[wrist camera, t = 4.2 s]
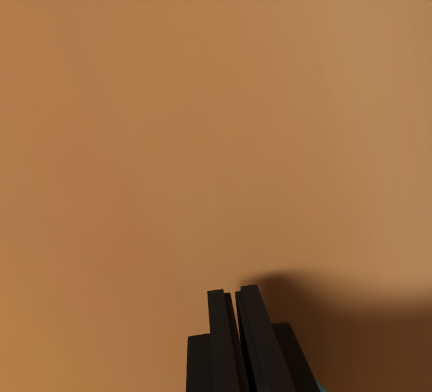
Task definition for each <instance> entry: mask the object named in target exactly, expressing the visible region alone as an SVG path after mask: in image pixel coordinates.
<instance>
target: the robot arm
mask: <svg viewBox="0 0 432 392" xmlns="http://www.w3.org/2000/svg"><path fill="white" fill-rule="evenodd" d="M207 294H208V308H209V322H210V333H209V334H202V335H195V336H188V346H187V378H186V392H320V389H319V387H318V385H317V383H316V381H315V378H314V376H313V374H312V372H311V370H310V367H309V365H308V363H307V361H306V359H305V356H304V354H303V352H302V350H301V348H300V345H299V343H298V341H297V339H296V337H295V335H294V332H293V330H292V328H291V326H290V324H289V323H288V322H285V323H278V324H271V321H270V319H269V316H268V313H267V311H266V308H265V305H264V302H263V300H262V297H261V294H260V292H259V289H258V286H257V285H248V286H241V291H238V292H235V298H236V307H237V316H238V325H239V334H240V339H239V334H238V329H237V324H236V319H235V314H234V309H233V304H232V299H231V294H230V293H224V291H223V289H220V290H212V291H207ZM240 343H241V344H240Z"/></svg>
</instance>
